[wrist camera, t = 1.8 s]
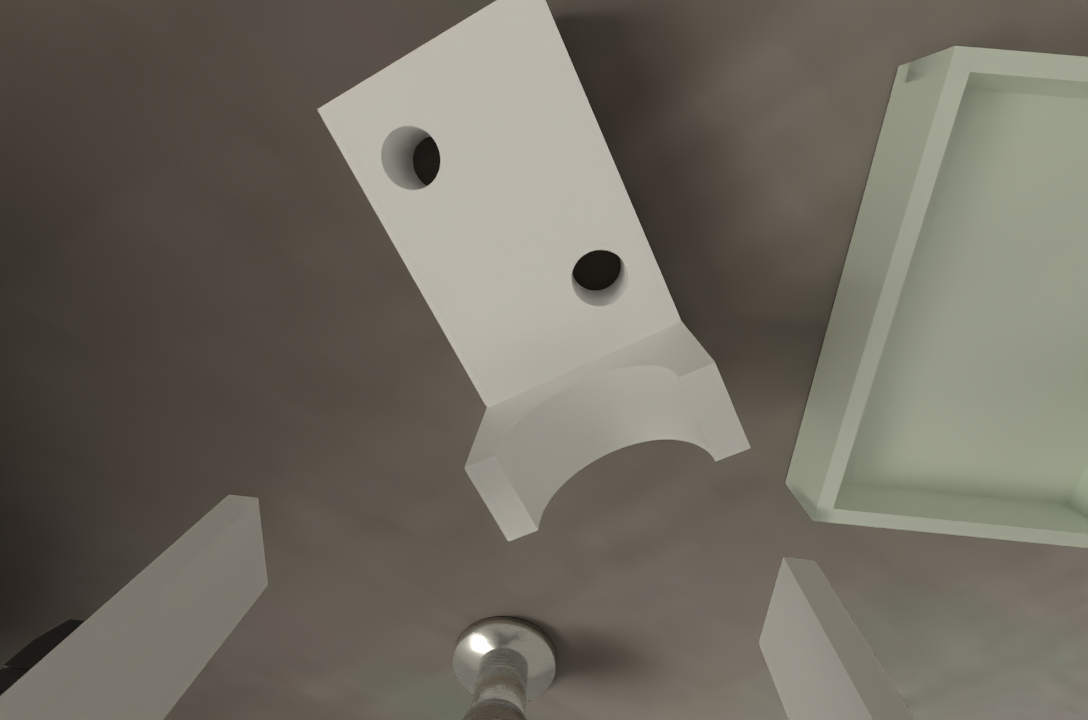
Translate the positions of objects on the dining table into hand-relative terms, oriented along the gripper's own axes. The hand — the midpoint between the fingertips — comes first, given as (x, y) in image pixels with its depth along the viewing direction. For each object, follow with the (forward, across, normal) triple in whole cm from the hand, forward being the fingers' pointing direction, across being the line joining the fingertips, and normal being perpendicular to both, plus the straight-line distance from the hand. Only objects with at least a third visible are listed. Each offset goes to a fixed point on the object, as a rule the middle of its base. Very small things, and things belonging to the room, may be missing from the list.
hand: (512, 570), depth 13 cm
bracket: (+9, -1, +7) cm, 12 cm away
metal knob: (+9, -1, -13) cm, 16 cm away
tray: (+9, +16, +6) cm, 20 cm away
